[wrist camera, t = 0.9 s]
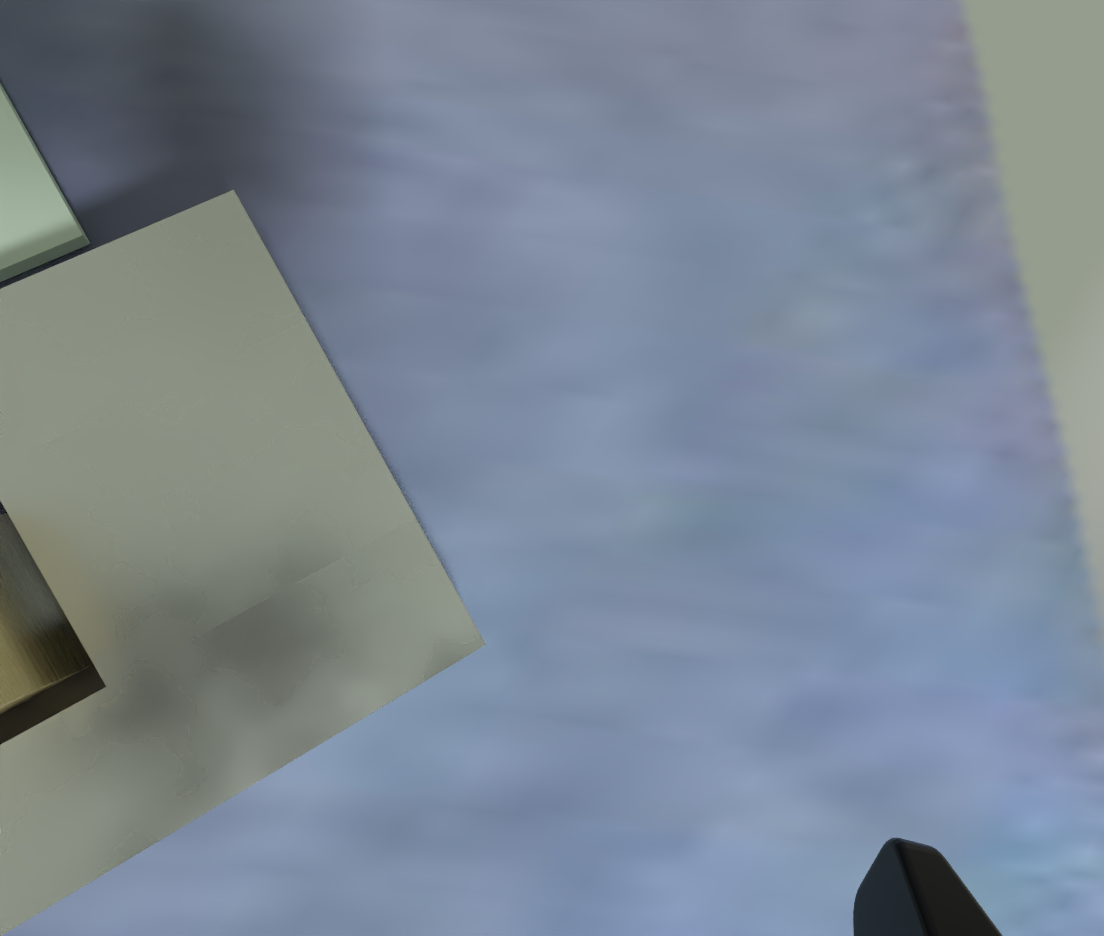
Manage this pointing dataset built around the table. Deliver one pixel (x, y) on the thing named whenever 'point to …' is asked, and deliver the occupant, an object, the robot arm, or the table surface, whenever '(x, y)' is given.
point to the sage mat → (30, 202)
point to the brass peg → (31, 627)
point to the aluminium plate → (194, 544)
